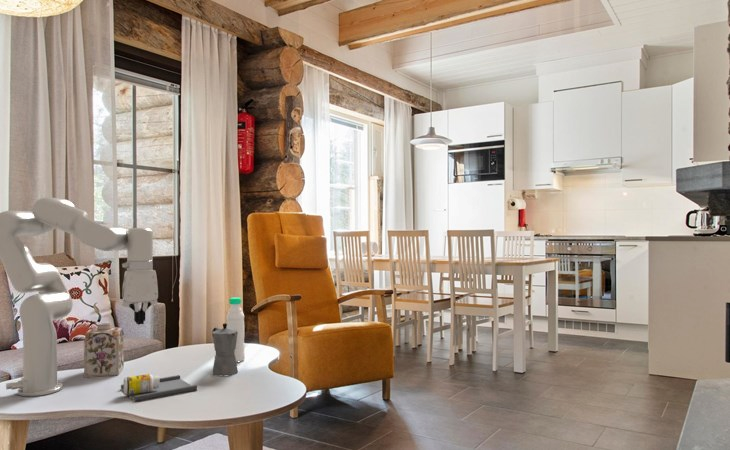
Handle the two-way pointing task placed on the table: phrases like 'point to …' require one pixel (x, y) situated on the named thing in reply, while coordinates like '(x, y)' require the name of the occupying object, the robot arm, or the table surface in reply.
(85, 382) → the table surface
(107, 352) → the decorative jar
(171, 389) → the mat
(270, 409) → the table surface
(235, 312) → the water bottle
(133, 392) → the supplement bottle
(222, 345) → the coffeepot
